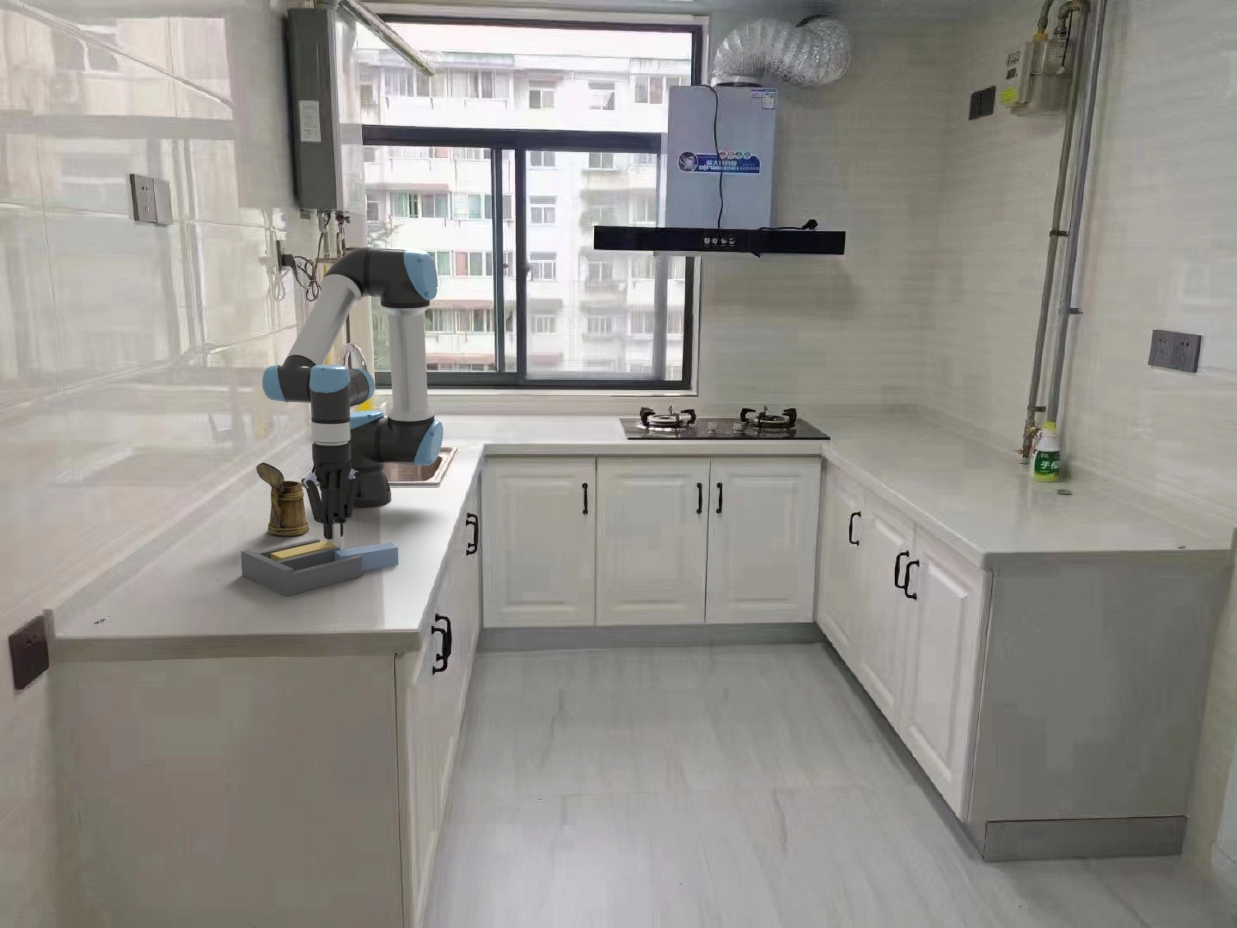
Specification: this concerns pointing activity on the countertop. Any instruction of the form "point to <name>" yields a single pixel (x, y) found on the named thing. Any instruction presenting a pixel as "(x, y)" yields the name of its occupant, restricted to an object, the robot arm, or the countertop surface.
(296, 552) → the bar ochre
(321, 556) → the comb rack
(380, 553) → the bar blue
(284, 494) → the wooden mug
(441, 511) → the countertop surface
